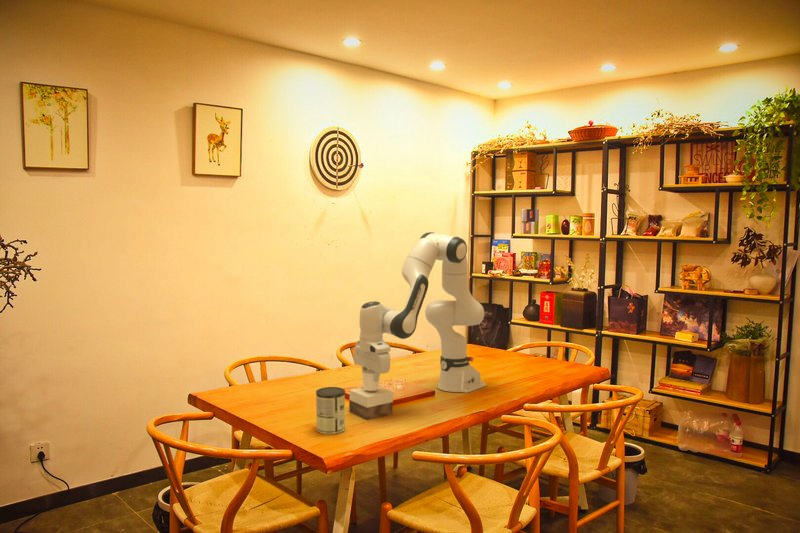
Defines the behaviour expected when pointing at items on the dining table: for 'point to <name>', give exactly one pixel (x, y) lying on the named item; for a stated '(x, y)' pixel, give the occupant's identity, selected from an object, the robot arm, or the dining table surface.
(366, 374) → the white cylinder
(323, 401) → the coffee can
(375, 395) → the cream top block
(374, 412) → the walnut base block
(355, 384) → the dining table surface
